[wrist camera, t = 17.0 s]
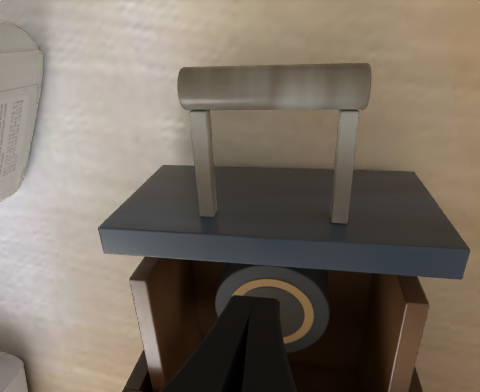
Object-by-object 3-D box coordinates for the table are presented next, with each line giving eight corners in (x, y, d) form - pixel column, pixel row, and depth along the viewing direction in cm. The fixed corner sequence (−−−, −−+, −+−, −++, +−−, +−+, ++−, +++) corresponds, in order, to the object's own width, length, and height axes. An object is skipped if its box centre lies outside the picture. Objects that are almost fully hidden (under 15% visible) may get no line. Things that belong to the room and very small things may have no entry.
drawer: (147, 57, 17) (60, 74, 11) (437, 48, 15) (524, 65, 9) (187, 343, 25) (149, 444, 19) (378, 366, 23) (403, 487, 17)
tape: (329, 221, 18) (334, 270, 14) (323, 301, 20) (326, 361, 17) (228, 216, 19) (209, 261, 15) (233, 293, 21) (217, 349, 18)
